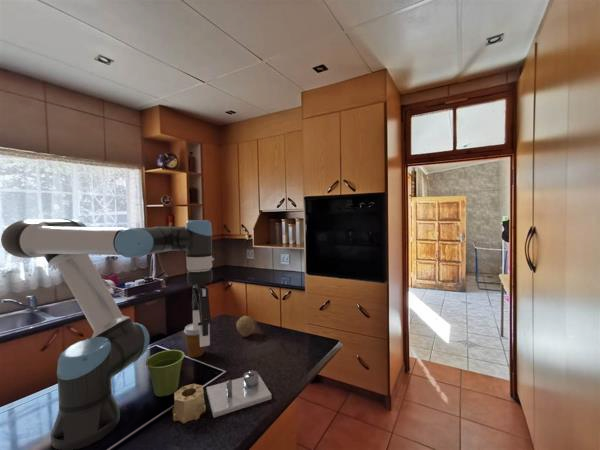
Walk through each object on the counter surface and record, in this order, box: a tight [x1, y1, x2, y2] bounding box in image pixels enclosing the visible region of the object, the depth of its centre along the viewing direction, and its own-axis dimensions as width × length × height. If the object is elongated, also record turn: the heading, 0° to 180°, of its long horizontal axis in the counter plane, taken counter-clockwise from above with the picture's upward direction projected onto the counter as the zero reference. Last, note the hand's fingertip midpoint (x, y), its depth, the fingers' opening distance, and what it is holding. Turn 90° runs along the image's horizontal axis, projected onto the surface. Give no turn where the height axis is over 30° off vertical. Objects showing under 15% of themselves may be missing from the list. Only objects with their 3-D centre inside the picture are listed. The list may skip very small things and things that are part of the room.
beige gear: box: [172, 383, 207, 424], centre depth 84 cm, size 9×9×6 cm
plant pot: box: [145, 349, 186, 398], centre depth 94 cm, size 12×12×11 cm
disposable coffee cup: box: [183, 323, 206, 358], centre depth 120 cm, size 10×10×12 cm
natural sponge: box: [236, 315, 256, 338], centre depth 138 cm, size 9×9×10 cm
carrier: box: [205, 369, 272, 418], centre depth 91 cm, size 18×14×6 cm
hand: (200, 337), depth 87 cm, fingers open, 13 cm apart
